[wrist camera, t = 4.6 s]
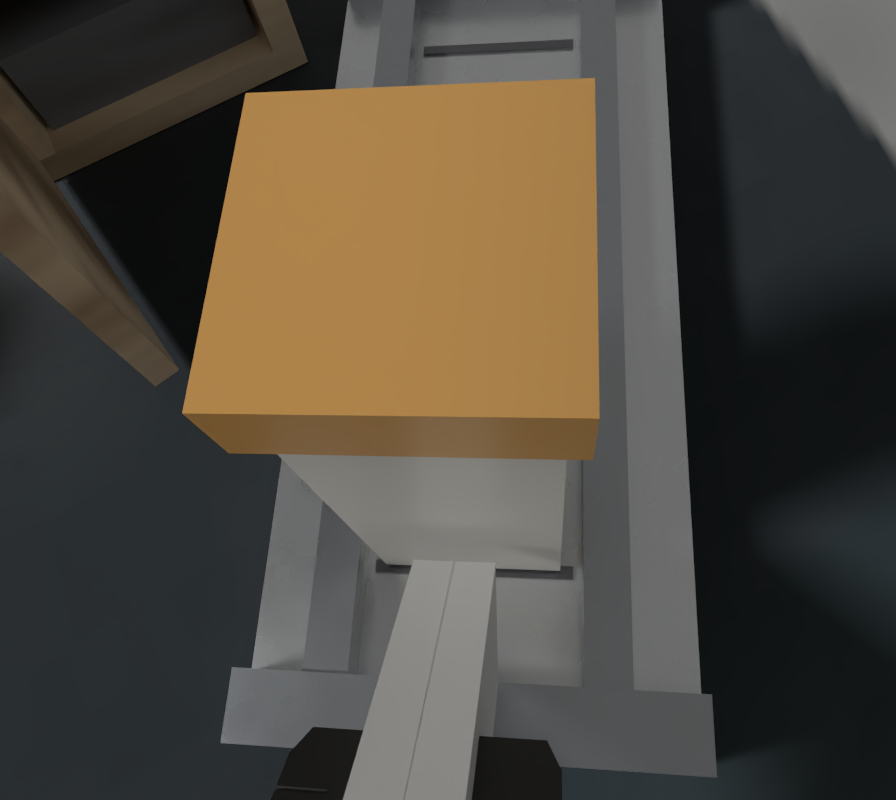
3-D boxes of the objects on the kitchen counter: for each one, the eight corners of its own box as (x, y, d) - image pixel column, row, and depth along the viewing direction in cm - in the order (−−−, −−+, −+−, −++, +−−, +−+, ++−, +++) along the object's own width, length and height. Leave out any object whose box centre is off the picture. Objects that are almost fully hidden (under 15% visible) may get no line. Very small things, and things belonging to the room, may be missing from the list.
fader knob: (573, 585, 18) (599, 418, 8) (372, 576, 18) (181, 413, 9) (573, 395, 20) (594, 78, 10) (390, 394, 20) (245, 93, 11)
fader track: (690, 769, 18) (717, 777, 15) (270, 740, 20) (220, 742, 17) (651, -2, 27) (663, -90, 24) (365, 14, 29) (344, -68, 26)
